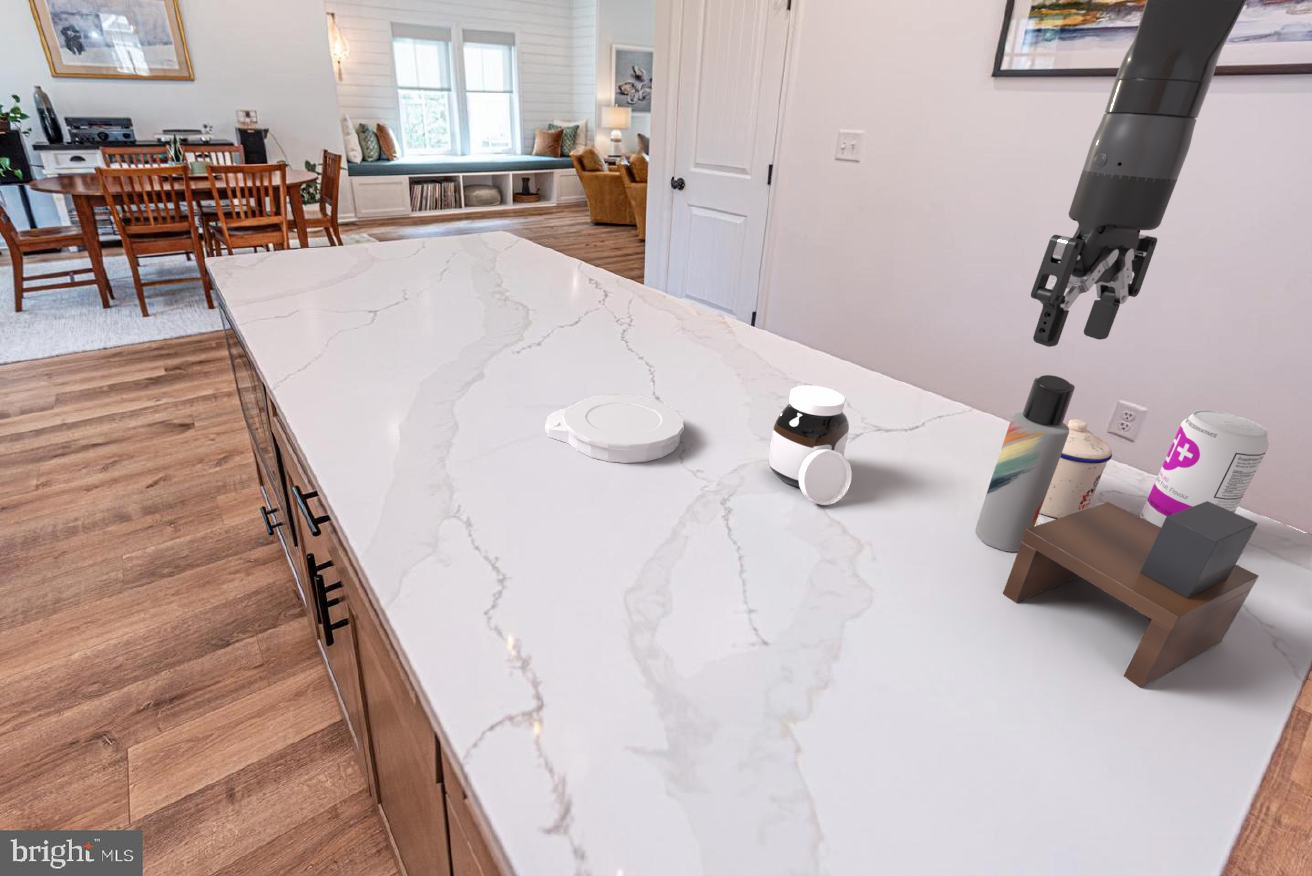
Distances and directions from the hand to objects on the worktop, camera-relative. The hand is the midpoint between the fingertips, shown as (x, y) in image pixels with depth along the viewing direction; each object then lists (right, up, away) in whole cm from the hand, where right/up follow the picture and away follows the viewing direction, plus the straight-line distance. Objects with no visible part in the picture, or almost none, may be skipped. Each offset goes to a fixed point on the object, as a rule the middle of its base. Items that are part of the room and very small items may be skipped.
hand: (1070, 340), depth 69 cm
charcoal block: (+6, -22, -8) cm, 24 cm away
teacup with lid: (+10, -18, +21) cm, 29 cm away
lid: (-48, -10, +29) cm, 57 cm away
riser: (+3, -28, -1) cm, 28 cm away
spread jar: (-22, -16, +20) cm, 34 cm away
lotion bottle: (-2, -22, +11) cm, 24 cm away
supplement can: (+22, -22, +15) cm, 35 cm away
